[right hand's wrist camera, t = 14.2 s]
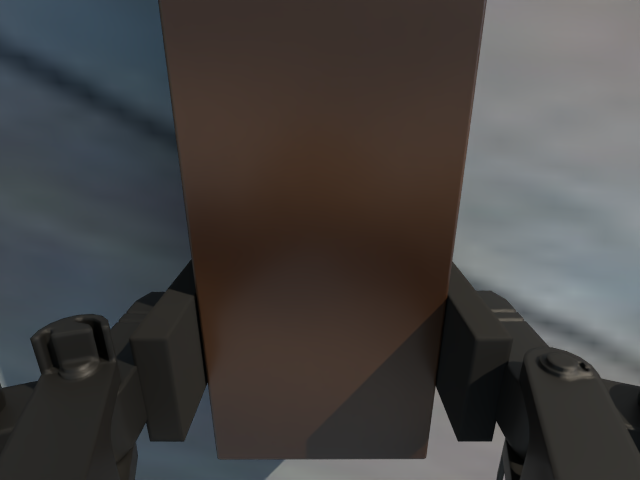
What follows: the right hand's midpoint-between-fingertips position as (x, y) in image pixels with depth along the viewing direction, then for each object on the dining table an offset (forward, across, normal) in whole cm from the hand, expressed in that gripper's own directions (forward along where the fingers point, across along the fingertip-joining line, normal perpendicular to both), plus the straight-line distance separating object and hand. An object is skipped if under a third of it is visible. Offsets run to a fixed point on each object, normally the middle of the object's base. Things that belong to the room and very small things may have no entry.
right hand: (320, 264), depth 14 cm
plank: (0, 0, -14) cm, 14 cm away
